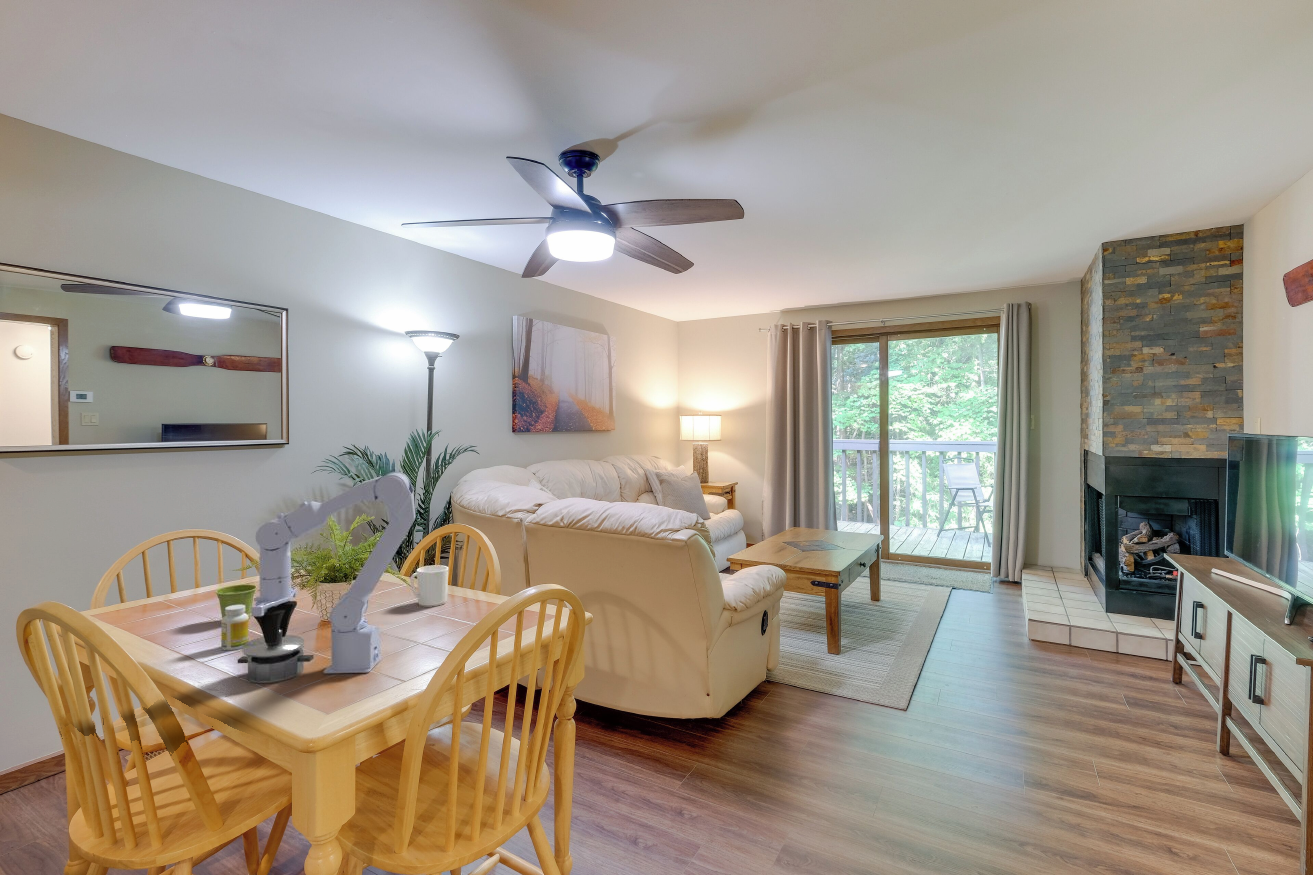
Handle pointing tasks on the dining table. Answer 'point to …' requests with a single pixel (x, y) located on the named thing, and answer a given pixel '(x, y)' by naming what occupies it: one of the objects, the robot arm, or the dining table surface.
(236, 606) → the supplement bottle
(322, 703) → the dining table surface
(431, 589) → the mug
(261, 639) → the lid
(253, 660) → the pot
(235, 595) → the plant pot
